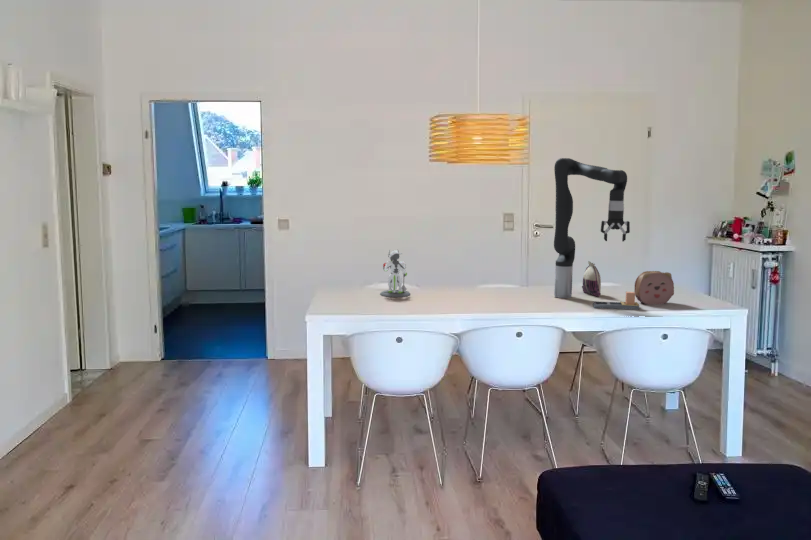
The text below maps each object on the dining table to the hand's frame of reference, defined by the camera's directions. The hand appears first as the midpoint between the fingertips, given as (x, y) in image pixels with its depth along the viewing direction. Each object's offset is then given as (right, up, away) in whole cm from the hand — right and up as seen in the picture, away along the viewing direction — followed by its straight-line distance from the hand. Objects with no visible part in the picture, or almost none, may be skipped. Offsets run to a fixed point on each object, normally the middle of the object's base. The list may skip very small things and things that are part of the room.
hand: (614, 241), depth 375 cm
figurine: (-113, -29, +31) cm, 121 cm away
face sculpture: (+23, -32, +9) cm, 41 cm away
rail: (0, -34, -3) cm, 34 cm away
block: (+6, -34, -4) cm, 35 cm away
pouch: (-3, -29, +33) cm, 44 cm away
